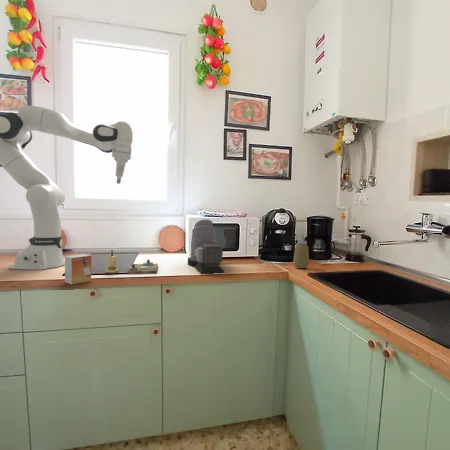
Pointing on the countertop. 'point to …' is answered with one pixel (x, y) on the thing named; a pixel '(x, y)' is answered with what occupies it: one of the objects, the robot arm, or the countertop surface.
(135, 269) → the gear board
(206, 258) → the juicer
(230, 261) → the countertop surface
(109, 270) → the brass pinion
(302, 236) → the squeeze bottle
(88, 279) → the small box
